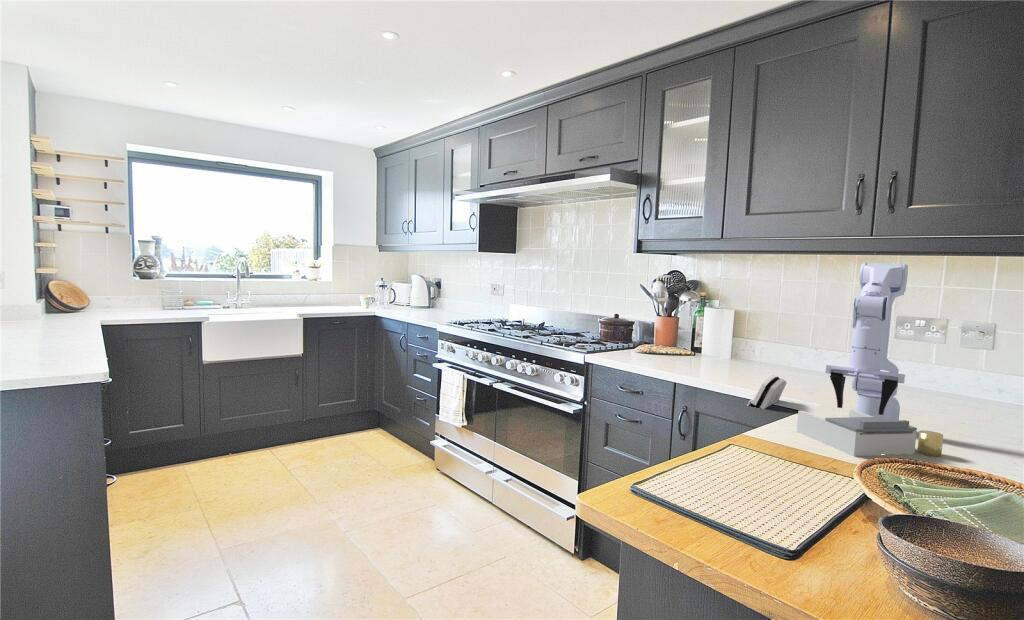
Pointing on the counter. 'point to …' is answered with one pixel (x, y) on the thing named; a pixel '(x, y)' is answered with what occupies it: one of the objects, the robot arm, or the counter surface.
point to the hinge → (769, 392)
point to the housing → (856, 437)
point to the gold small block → (930, 443)
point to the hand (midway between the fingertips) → (859, 411)
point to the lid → (872, 424)
